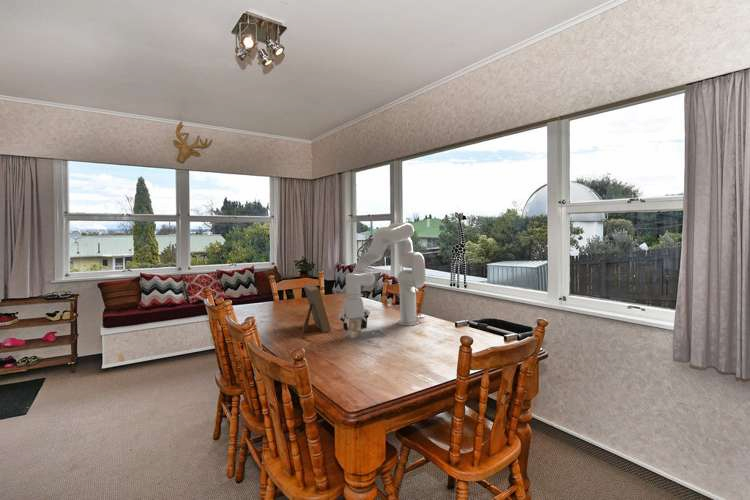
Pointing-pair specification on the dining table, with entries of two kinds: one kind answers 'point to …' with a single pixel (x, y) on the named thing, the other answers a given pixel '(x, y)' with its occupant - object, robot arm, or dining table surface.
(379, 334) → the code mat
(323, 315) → the photo frame
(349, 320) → the food container
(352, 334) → the birch block
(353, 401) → the dining table surface
